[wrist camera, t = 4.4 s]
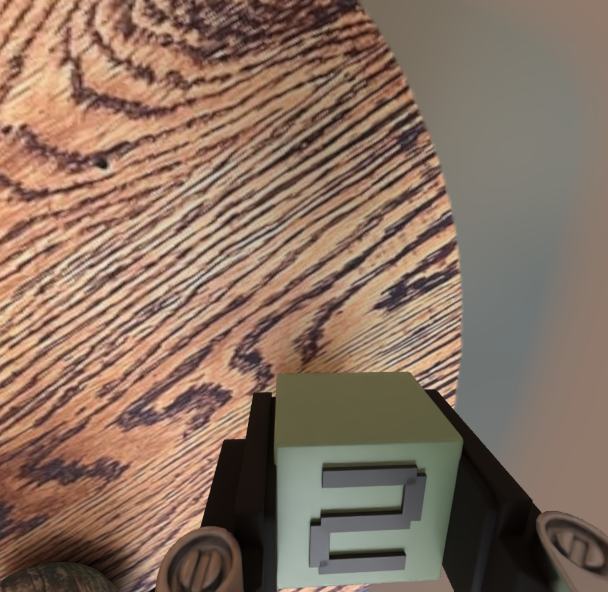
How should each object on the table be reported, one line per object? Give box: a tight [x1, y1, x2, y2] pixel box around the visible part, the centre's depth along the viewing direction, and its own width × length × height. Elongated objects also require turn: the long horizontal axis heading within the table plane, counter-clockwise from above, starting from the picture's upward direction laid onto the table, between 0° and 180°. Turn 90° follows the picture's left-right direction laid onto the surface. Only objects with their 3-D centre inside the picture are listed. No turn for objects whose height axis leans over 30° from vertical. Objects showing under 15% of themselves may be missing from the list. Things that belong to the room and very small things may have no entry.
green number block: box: [274, 372, 463, 589], centre depth 8 cm, size 4×4×3 cm
